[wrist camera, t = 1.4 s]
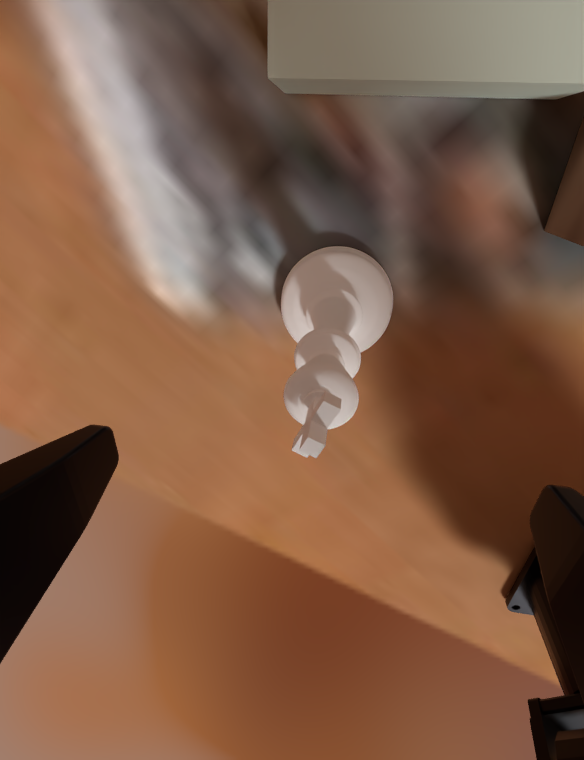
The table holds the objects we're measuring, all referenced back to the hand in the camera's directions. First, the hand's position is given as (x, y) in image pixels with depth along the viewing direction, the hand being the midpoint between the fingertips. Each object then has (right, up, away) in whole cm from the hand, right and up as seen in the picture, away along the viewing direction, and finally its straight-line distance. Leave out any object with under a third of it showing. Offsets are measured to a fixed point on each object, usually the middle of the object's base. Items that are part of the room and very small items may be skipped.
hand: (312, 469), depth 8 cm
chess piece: (+2, +5, +9) cm, 11 cm away
